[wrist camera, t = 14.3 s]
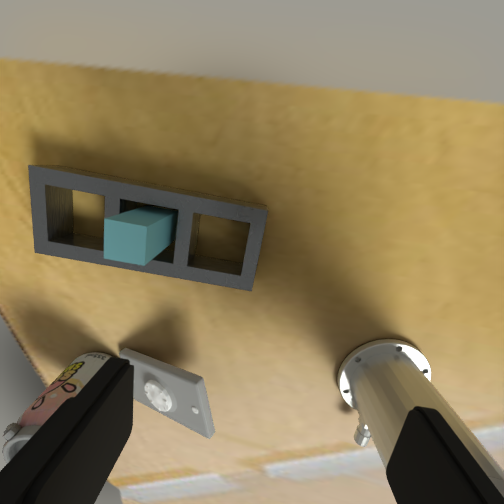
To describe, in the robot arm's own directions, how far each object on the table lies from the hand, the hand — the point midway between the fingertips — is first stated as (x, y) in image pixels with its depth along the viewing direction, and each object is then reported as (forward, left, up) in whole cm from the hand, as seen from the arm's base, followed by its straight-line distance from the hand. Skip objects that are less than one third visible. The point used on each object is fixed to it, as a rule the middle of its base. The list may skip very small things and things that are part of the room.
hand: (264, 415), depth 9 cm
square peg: (0, +12, -24) cm, 26 cm away
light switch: (-21, +8, -24) cm, 33 cm away
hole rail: (0, +12, -24) cm, 26 cm away
